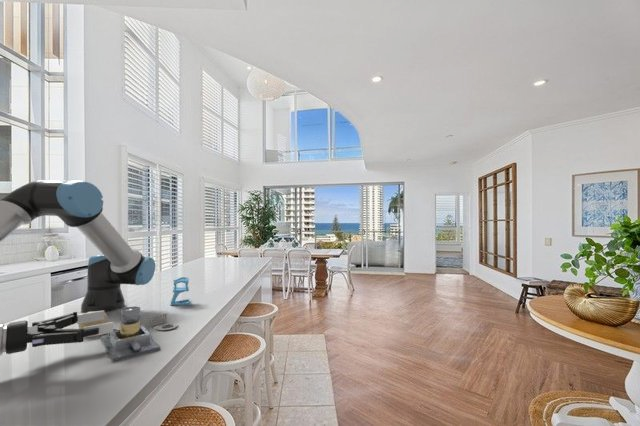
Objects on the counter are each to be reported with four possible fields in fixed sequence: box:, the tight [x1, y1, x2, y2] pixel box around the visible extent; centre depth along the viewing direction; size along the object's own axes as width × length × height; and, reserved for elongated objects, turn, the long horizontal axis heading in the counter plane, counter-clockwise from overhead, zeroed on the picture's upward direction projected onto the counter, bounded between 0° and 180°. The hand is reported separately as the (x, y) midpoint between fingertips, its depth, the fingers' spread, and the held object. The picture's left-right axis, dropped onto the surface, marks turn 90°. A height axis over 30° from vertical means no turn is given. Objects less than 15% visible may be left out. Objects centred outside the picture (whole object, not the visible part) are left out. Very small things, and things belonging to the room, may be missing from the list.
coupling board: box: [100, 325, 161, 363], centre depth 94 cm, size 20×12×4 cm, turn 44°
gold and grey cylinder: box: [119, 306, 141, 339], centre depth 94 cm, size 5×5×10 cm
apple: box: [78, 311, 108, 329], centre depth 103 cm, size 8×8×8 cm
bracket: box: [148, 313, 178, 331], centre depth 109 cm, size 7×10×4 cm, turn 57°
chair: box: [169, 276, 191, 306], centre depth 138 cm, size 8×8×12 cm
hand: (108, 320), depth 90 cm, fingers open, 13 cm apart
